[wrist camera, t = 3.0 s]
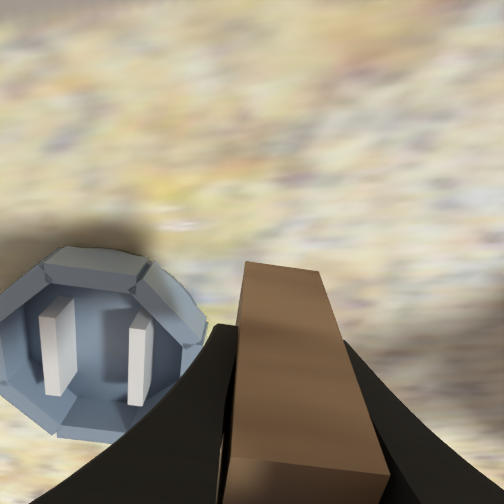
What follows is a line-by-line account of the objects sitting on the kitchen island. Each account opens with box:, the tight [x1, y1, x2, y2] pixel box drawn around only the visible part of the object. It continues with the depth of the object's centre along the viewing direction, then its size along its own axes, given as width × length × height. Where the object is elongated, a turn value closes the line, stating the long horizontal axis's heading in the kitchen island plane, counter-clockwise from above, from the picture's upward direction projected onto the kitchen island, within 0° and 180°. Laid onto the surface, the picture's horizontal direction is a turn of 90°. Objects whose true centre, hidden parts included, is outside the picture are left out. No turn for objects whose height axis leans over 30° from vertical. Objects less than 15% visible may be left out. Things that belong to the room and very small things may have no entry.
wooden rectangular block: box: [216, 261, 390, 504], centre depth 9 cm, size 4×2×7 cm, turn 172°
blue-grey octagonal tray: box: [0, 246, 208, 444], centre depth 20 cm, size 11×11×2 cm
